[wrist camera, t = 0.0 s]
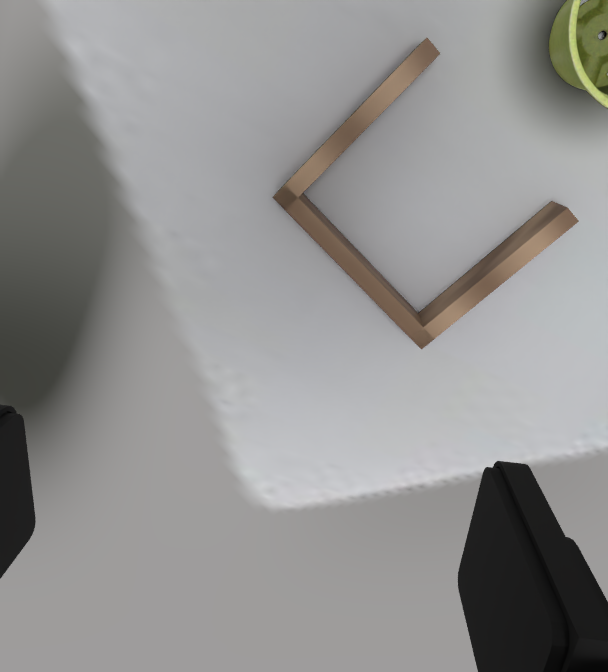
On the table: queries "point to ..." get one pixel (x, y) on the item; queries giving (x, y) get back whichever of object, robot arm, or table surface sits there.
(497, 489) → the robot arm
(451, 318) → the dock
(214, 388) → the table surface
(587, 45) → the plant pot
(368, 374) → the table surface
